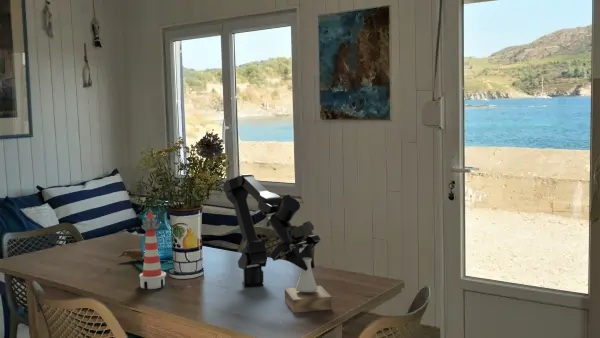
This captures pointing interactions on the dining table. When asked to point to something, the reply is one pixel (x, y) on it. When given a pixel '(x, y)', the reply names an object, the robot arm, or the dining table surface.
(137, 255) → the bird sculpture
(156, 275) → the miniature lighthouse
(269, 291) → the dining table surface
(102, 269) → the dining table surface
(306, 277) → the flask
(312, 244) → the robot arm
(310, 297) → the light brown square board
